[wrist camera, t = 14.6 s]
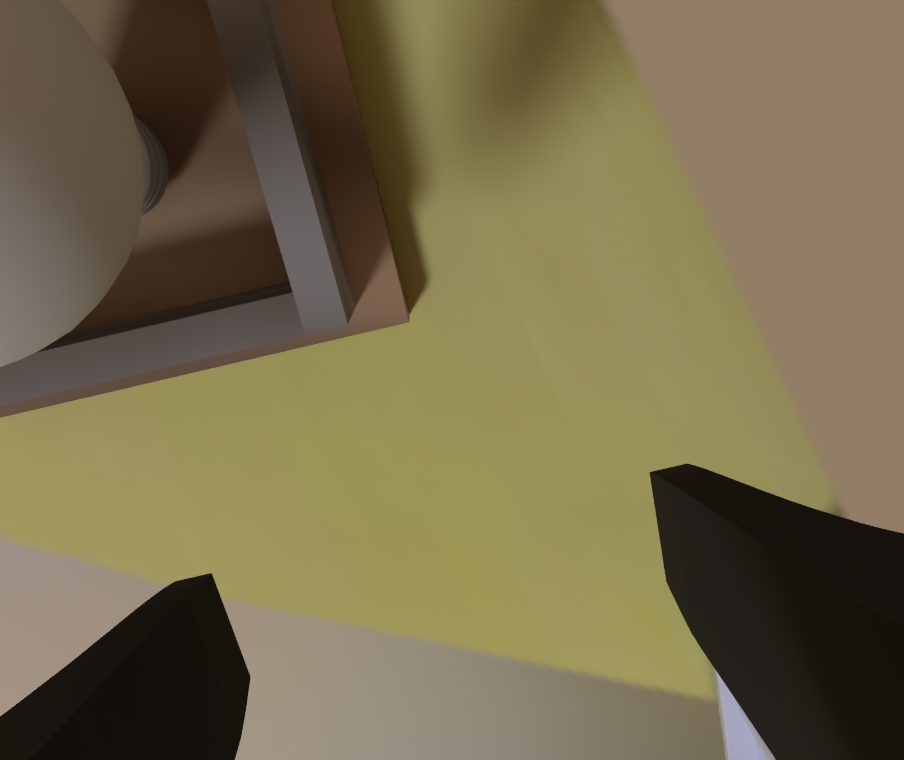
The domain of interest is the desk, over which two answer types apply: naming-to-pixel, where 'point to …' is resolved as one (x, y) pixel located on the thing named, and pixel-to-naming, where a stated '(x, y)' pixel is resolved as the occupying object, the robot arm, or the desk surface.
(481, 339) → the desk surface
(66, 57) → the lightbulb
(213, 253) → the socket base
